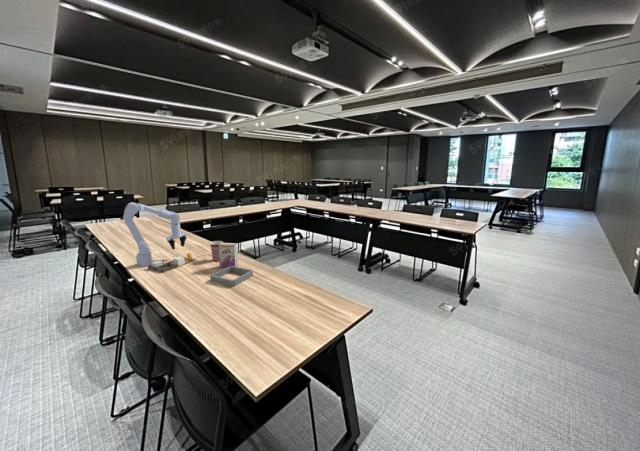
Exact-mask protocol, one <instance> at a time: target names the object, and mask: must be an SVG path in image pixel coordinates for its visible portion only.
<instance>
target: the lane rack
mask: <svg viewBox="0 0 640 451" xmlns="http://www.w3.org/2000/svg"><path fill="white" fill-rule="evenodd" d="M183 257H184V260H185V261H186V260H188V258H187V256H183ZM161 261H162V262H163V265H161V266H158V267H153V266H151V265H149V266H147V268H148V270H151V271H155V272H159V273H167V272H168V271H171V270H174V269H177V268H180V267H182V266H186V265H188V264H190V263H193V262H196V261H197V259H195V258H192V261H188V262H185V264H183V265H180V266H178V264H176V265H174V264H173V259H172V260H169V261H167V262H165V261H164V260H161Z"/></svg>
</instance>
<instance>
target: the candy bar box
mask: <svg viewBox="0 0 640 451" xmlns="http://www.w3.org/2000/svg"><path fill="white" fill-rule="evenodd" d="M237 244H238V243H237V242H236V243H235V242H233V243H232V242H223V243H220V244H219V245H218V247H219V260H220V261H219V267H220V268H227V267H229V266H235V267H239V266H238V265H239V261H238V247H237V246H238V245H237Z"/></svg>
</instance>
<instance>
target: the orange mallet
mask: <svg viewBox="0 0 640 451" xmlns="http://www.w3.org/2000/svg"><path fill="white" fill-rule="evenodd" d="M184 257H185V256H177V257H173V258H172V260H173V264H174V265H176V264H178V266H180V265H183V264H185V262H188V261H192V259H193V254H192V253H191V252H189V253H188V252H187V254H186V258H188V260H186V261H185V260H184ZM185 265H186V264H185ZM183 266H184V265H183ZM180 267H181V266H180Z"/></svg>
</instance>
